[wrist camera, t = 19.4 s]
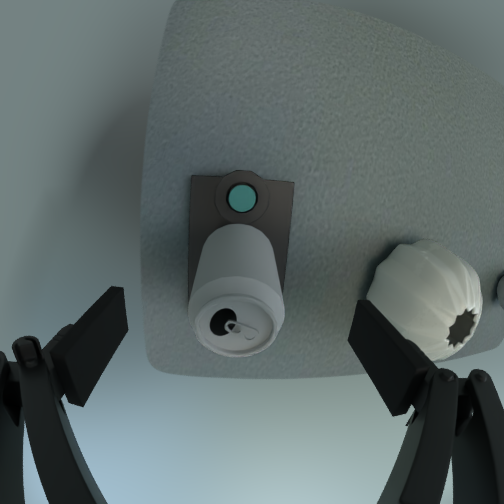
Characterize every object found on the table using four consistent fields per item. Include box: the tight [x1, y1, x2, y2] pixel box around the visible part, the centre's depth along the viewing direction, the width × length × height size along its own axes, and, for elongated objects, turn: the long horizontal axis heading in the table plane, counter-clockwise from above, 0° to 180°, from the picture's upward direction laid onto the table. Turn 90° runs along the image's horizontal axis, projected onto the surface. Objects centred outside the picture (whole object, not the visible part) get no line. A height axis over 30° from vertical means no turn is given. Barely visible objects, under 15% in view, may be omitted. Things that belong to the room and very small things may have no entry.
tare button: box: [229, 185, 256, 212], centre depth 28 cm, size 3×3×2 cm
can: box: [188, 224, 285, 357], centre depth 25 cm, size 8×8×12 cm
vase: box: [366, 238, 483, 361], centre depth 27 cm, size 14×14×13 cm
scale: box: [188, 170, 294, 306], centre depth 31 cm, size 17×11×2 cm, turn 176°
